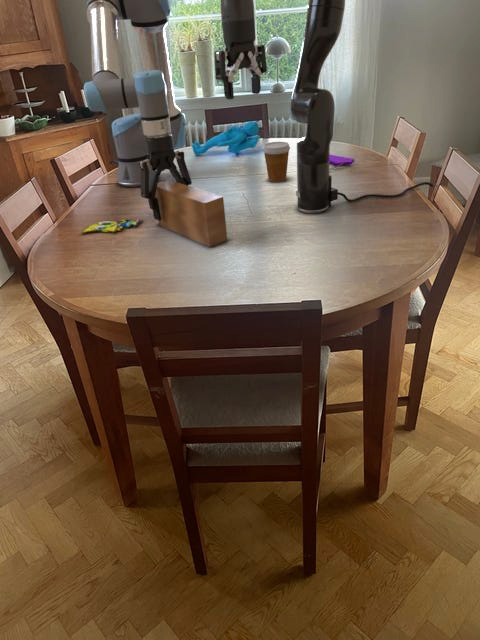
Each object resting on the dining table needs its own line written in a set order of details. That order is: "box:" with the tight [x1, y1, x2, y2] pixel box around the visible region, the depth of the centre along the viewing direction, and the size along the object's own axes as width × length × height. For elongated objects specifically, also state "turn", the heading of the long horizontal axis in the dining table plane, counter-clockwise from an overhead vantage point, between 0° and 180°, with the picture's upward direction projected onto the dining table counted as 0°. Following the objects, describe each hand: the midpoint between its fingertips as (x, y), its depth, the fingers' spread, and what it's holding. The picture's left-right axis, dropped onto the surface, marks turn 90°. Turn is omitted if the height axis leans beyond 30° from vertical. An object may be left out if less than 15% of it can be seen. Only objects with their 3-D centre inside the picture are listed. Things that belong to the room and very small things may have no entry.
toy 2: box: [191, 120, 261, 156], centre depth 207 cm, size 17×11×30 cm
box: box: [155, 179, 228, 248], centre depth 134 cm, size 25×6×12 cm, turn 41°
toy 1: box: [82, 218, 141, 235], centre depth 145 cm, size 10×1×15 cm
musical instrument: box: [329, 154, 355, 171], centre depth 185 cm, size 24×2×20 cm
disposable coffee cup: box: [262, 141, 291, 183], centre depth 169 cm, size 10×10×12 cm
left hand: (171, 214), depth 142 cm, fingers open, 9 cm apart
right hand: (243, 96), depth 118 cm, fingers open, 8 cm apart
